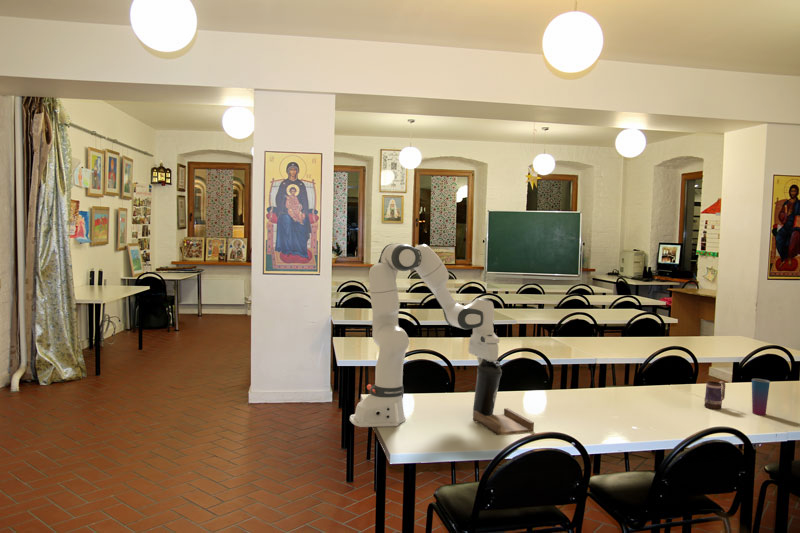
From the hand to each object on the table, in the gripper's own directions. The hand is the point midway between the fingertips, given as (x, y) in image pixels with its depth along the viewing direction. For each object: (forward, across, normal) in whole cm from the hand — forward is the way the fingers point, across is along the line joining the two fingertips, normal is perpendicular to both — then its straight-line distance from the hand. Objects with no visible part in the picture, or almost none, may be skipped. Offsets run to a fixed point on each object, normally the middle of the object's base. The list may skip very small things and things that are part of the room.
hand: (481, 368), depth 245 cm
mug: (+19, +22, +110) cm, 114 cm away
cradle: (+19, +18, 0) cm, 27 cm away
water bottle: (+18, +2, 0) cm, 18 cm away
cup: (+19, +35, +121) cm, 127 cm away
